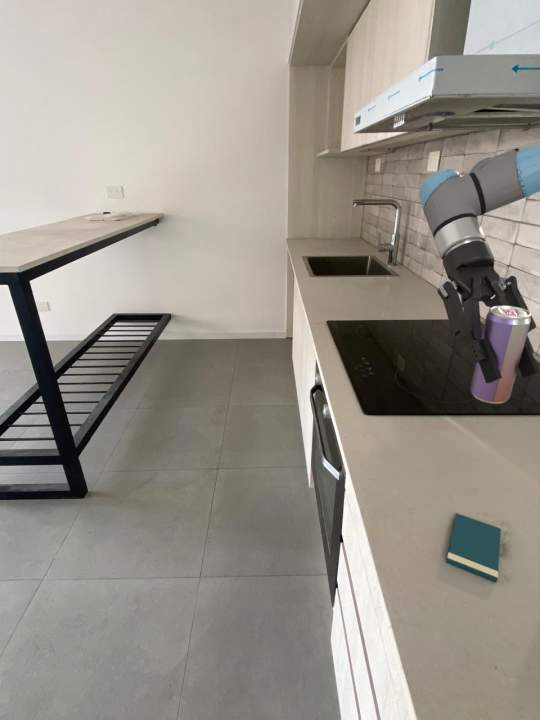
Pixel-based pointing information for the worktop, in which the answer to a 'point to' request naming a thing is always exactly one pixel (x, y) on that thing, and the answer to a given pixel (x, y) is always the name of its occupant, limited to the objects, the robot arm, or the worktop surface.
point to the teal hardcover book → (475, 547)
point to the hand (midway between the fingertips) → (512, 377)
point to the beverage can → (502, 351)
